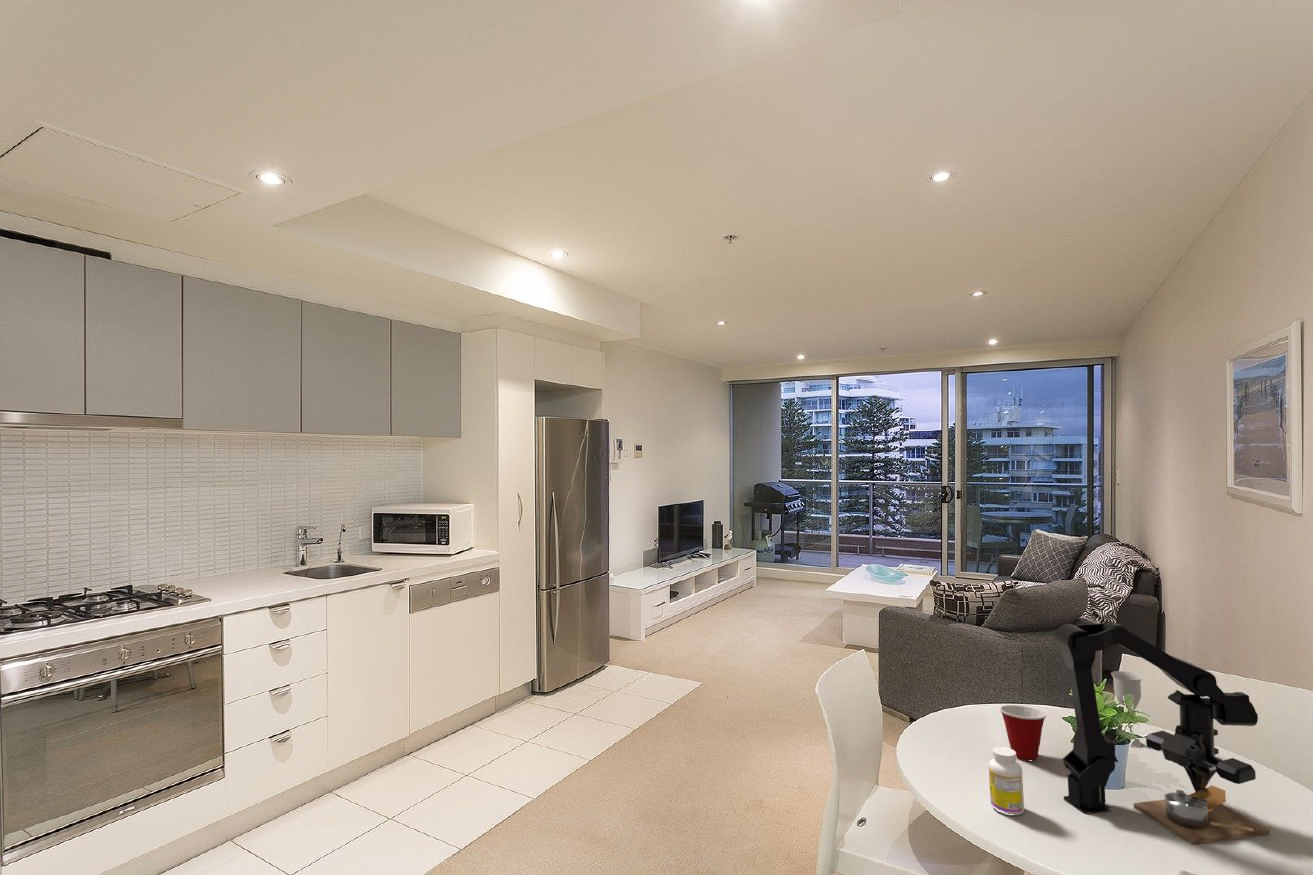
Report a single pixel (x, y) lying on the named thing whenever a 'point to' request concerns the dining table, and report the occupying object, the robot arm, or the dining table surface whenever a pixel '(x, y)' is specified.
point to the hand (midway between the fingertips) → (1199, 794)
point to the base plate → (1219, 818)
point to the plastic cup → (1023, 729)
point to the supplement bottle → (1006, 781)
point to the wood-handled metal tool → (1193, 806)
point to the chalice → (1128, 691)
